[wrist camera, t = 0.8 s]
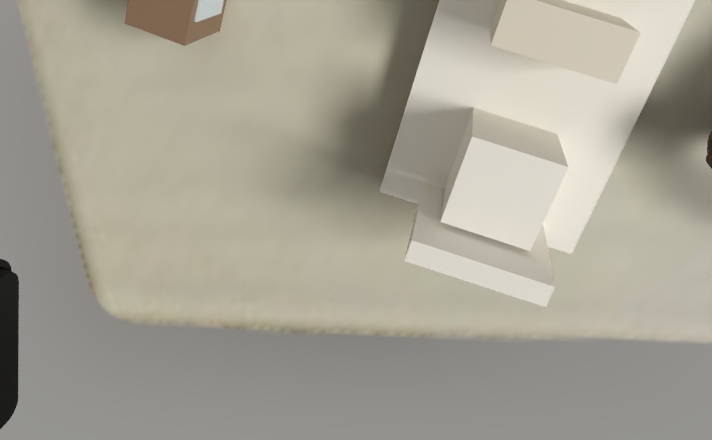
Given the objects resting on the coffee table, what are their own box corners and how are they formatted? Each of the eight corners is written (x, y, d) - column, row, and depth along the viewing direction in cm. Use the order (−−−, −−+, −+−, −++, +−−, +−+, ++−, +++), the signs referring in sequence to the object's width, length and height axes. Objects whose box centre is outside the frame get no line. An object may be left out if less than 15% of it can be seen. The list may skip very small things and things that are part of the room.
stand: (527, -278, 25) (544, -356, 18) (781, -205, 25) (902, -256, 18) (383, 181, 34) (356, 250, 27) (568, 240, 34) (590, 327, 26)
